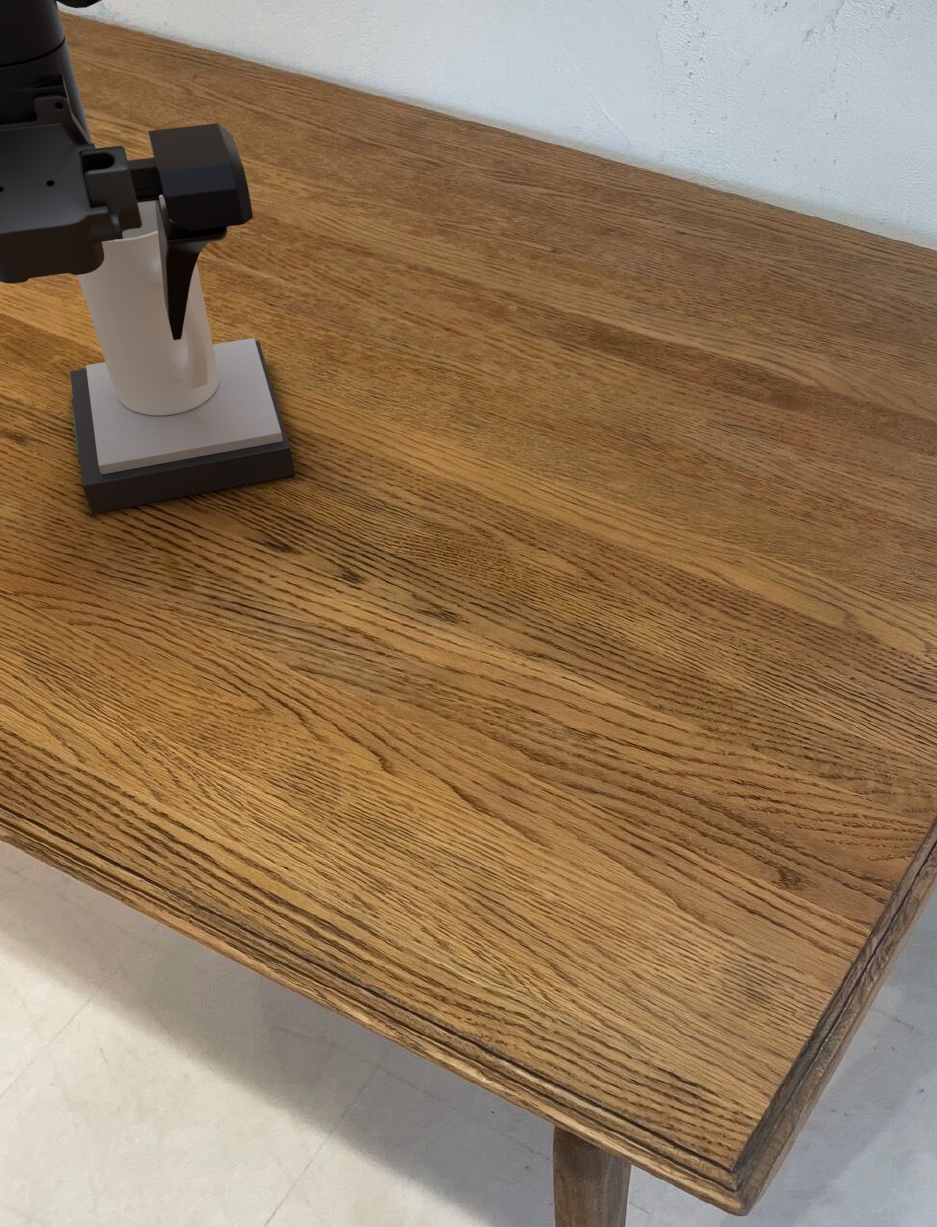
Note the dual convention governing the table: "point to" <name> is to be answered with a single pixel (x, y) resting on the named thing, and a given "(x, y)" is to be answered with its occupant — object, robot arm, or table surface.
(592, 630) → the table surface
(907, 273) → the table surface
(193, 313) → the mug
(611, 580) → the table surface
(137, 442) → the scale
